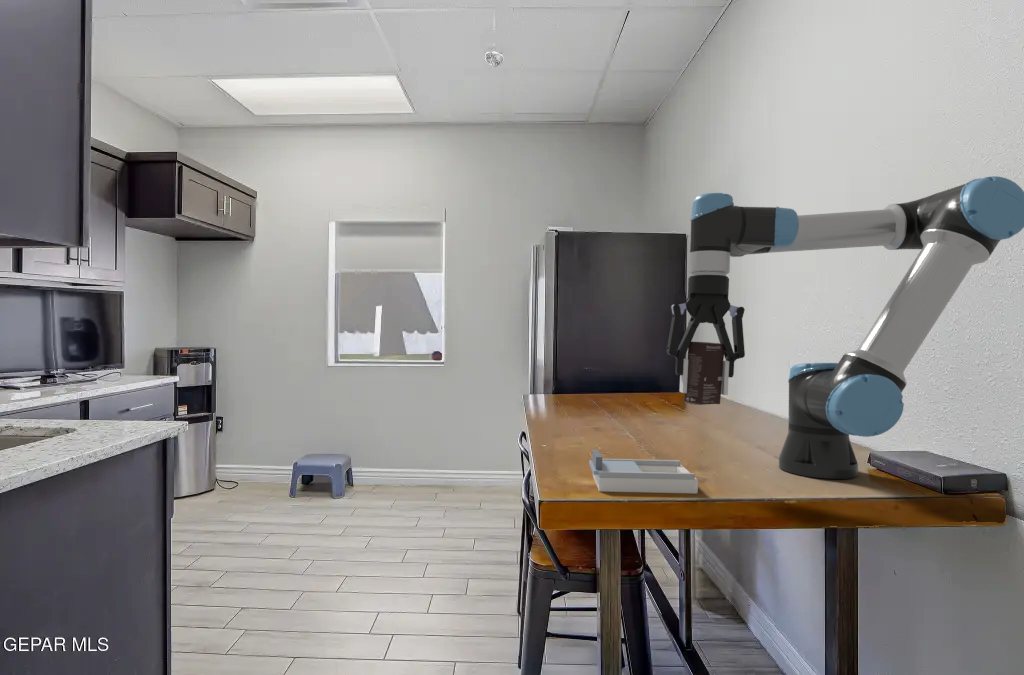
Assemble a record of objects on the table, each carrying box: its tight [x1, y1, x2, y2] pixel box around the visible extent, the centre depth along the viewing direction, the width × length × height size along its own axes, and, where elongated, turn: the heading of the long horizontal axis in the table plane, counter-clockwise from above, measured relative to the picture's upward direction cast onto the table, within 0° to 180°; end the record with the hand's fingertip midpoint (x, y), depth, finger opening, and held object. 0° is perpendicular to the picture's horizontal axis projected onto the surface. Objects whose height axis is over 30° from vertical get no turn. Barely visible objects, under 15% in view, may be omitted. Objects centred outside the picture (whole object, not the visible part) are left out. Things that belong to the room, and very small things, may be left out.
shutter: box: [588, 449, 642, 475], centre depth 115 cm, size 9×9×3 cm
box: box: [684, 341, 725, 406], centre depth 115 cm, size 6×4×12 cm
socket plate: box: [592, 458, 699, 494], centre depth 114 cm, size 18×12×4 cm, turn 88°
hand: (703, 393), depth 115 cm, fingers closed on box, 7 cm apart
